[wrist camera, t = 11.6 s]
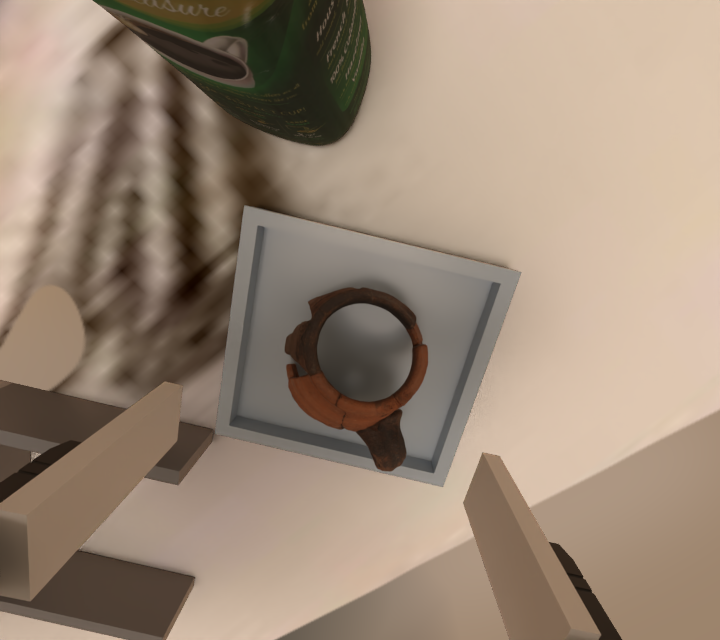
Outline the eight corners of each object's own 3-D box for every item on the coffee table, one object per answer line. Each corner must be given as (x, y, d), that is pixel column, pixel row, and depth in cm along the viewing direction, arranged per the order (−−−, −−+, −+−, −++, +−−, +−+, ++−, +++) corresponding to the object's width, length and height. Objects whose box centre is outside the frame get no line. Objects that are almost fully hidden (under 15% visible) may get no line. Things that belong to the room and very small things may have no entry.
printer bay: (-38, 533, 33) (-166, 627, 25) (-59, 366, 28) (-226, 419, 20) (193, 586, 33) (137, 695, 25) (213, 429, 28) (151, 505, 20)
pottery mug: (260, 337, 25) (253, 316, 17) (366, 286, 28) (401, 248, 20) (334, 481, 25) (361, 527, 17) (435, 415, 28) (499, 428, 20)
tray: (227, 418, 28) (214, 434, 26) (256, 207, 23) (244, 205, 21) (438, 467, 28) (443, 487, 26) (508, 268, 23) (521, 272, 21)
